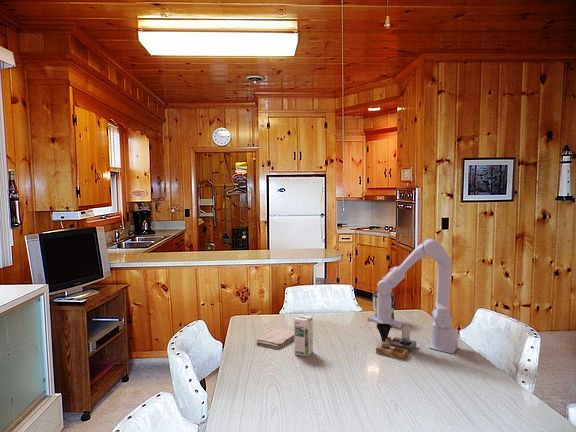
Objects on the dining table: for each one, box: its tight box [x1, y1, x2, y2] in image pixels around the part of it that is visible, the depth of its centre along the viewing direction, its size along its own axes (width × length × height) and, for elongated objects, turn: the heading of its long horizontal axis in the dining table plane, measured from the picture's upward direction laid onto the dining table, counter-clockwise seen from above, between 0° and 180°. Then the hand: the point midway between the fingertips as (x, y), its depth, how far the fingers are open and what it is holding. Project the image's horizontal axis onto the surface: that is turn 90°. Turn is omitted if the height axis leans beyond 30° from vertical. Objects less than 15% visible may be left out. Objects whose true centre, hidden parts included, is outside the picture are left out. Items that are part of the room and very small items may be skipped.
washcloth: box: [256, 328, 295, 350], centre depth 166 cm, size 12×18×3 cm, turn 150°
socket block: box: [389, 336, 417, 354], centre depth 156 cm, size 9×8×2 cm
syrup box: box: [293, 314, 314, 358], centre depth 151 cm, size 6×6×14 cm
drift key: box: [385, 336, 399, 343], centre depth 158 cm, size 5×3×3 cm
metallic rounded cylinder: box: [401, 324, 411, 346], centre depth 155 cm, size 3×3×9 cm
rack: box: [375, 341, 409, 361], centre depth 149 cm, size 11×5×4 cm, turn 52°
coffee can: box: [372, 291, 395, 325], centre depth 187 cm, size 10×10×14 cm
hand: (384, 341), depth 160 cm, fingers closed
